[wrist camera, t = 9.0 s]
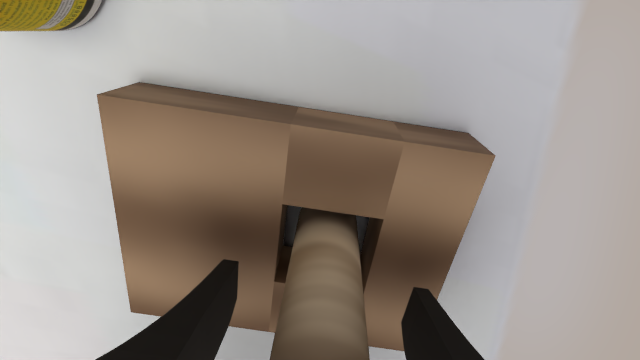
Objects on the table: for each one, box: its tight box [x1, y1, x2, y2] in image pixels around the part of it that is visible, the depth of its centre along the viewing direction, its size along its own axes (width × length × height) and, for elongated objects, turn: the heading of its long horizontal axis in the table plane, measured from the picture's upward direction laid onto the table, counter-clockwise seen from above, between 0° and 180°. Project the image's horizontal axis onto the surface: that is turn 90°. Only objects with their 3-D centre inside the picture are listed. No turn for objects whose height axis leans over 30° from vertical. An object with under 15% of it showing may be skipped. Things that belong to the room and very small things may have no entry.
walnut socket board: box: [97, 82, 495, 351], centre depth 17 cm, size 12×16×3 cm
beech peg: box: [270, 207, 370, 360], centre depth 14 cm, size 3×3×9 cm
